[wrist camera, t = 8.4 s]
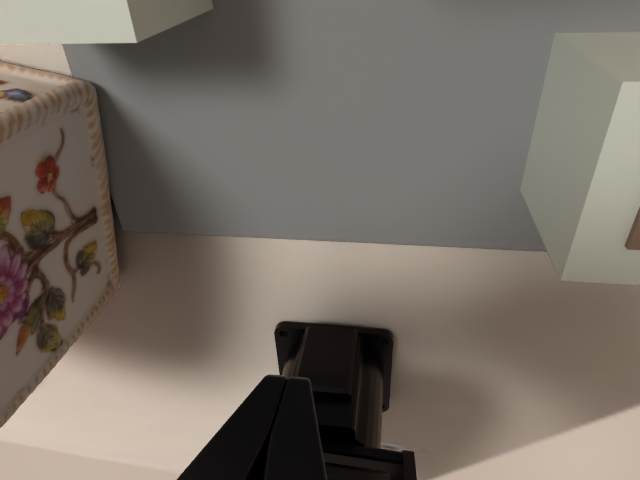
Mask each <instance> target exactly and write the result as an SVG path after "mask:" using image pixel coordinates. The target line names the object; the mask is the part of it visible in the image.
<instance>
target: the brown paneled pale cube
mask: <svg viewBox="0 0 640 480" xmlns="http://www.w3.org/2000/svg"><path fill="white" fill-rule="evenodd" d="M212 9H213V3H212V0H0V45H15V44H90V43H138V42H140V41H142V40H144V39H147V38H149V37H151V36H153V35H156V34H158V33H160V32H162V31H165V30H167V29H169V28H171V27H174V26H176V25H178V24H180V23H182V22H185V21H187V20H189V19H191V18H194V17H196V16H198V15H200V14H203V13H205V12H207V11H209V10H212Z"/></svg>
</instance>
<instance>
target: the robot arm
mask: <svg viewBox="0 0 640 480" xmlns="http://www.w3.org/2000/svg"><path fill="white" fill-rule="evenodd" d="M282 330H283V331H286V332H283V331H282ZM274 334H275V342H276V349H277V357H278V365H279V372H280V375H267V376H265V377H264V378H263V379H262V380H261V382H260V383H259V384H258V385H257V386H256V387H255V389H254V390H253V391H252V392H251V393H250V395H249V396H248V397H247V398H246V399H245V400H244V402H243V403H242V404H241V405H240V406H239V407H238V409H237V410H236V411H235V412H234V413H233V414H232V416H231V417H230V418H229V419H228V420H227V421H226V423H225V424H224V425H223V426H222V427H221V428H220V430H219V431H218V432H217V433H216V434H215V435H214V437H213V438H212V439H211V440H210V441H209V442H208V444H207V445H206V446H205V447H204V448H203V449H202V451H201V452H200V453H199V454H198V455H197V456H196V458H195V459H194V460H193V461H192V462H191V464H190V465H189V466H188V467H187V468H186V469H185V471H184V472H183V473H182V474H181V475H180V476H179V478H178V479H177V480H417V477H416V467H415V457H414V452H413V451H406V450H402V452H399V451H393V450H386V449H381V429H382V412H385V411H387V410H388V408H389V397H390V382H391V366H392V351H393V334H392V333H391V332H390V331H388V330H384V329H371V328H358V327H344V326H331V325H317V324H304V323H290V322H280V323H278V324H277V325H276V328H275V332H274ZM381 338H385V339H384V340H383V339H381Z"/></svg>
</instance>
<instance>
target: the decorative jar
mask: <svg viewBox="0 0 640 480" xmlns="http://www.w3.org/2000/svg"><path fill="white" fill-rule="evenodd" d="M117 261H118V257H117V247H116V241H115V232H114V224H113V214H112V208H111V199H110V190H109V180H108V168H107V160H106V156H105V147H104V140H103V135H102V128H101V122H100V114H99V105H98V97H97V93H96V89H95V87H94V86H93V85H92V84H91V83H89V82H87V81H84V80H79V79H76V78H73V77H69V76H65V75H61V74H57V73H51V72H46V71H41V70H37V69H32V68H27V67H23V66H18V65H14V64H10V63H6V62H2V61H0V428H1V427H2V426H3V425H4V424H5V423H6V422H7V421H8V420H9V418H10V417H11V416H12V415H13V414H14V413H15V412H16V410H17V409H18V408H19V406H20V405H21V404H22V403H23V402H24V401H25V400H26V398H27V397H28V396H29V395H30V394H31V393H32V392H33V391H34V390H35V388H36V387H37V386H38V385H39V384H40V383H41V382H42V381H43V379H44V378H45V377H46V376H47V375H48V374H49V372H50V371H51V370H52V369H53V368H54V367H55V366H56V364H57V362H58V361H59V360H60V359H61V358H62V357H63V356H64V355H65V353H66V352H67V351H68V349H69V348H70V347H71V346H72V344H73V343H74V342H75V341H76V340H77V339H78V337H79V336H80V335H81V334H82V333H83V332H84V330H85V329H86V328H87V327H88V325H89V324H90V323H91V322H92V320H93V319H94V318H95V317H96V316H97V315H98V313H99V312H100V310H101V309H102V308H103V307H104V306H105V304H106V303H107V302H108V301H109V299H110V298H111V297H112V295H113V294H114V293H115V291H116V290H117V289H119V287H120V286H121V284H122V282H121V279H120V273H119V265H118V262H117Z"/></svg>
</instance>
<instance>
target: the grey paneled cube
mask: <svg viewBox="0 0 640 480" xmlns="http://www.w3.org/2000/svg"><path fill="white" fill-rule="evenodd" d="M520 191H521V193H522V195H523V197H524V200H525V202H526V204H527V206H528V209H529V211H530V213H531V215H532V218H533V220H534V222H535V225H536V227H537V229H538V231H539V234H540V236H541V238H542V240H543V243H544V245H545V247H546V249H547V252H548V254H549V256H550V258H551V261H552V263H553V265H554V267H555V270H556V272H557V274H558V277H559V279H560V281H568V282H586V283H603V284H621V285H639V286H640V32H598V33H555V35H554V40H553V44H552V49H551V53H550V58H549V62H548V67H547V71H546V76H545V80H544V85H543V89H542V94H541V98H540V103H539V107H538V112H537V116H536V121H535V125H534V130H533V134H532V139H531V144H530V148H529V153H528V157H527V162H526V166H525V171H524V175H523V180H522V184H521V189H520Z"/></svg>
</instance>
